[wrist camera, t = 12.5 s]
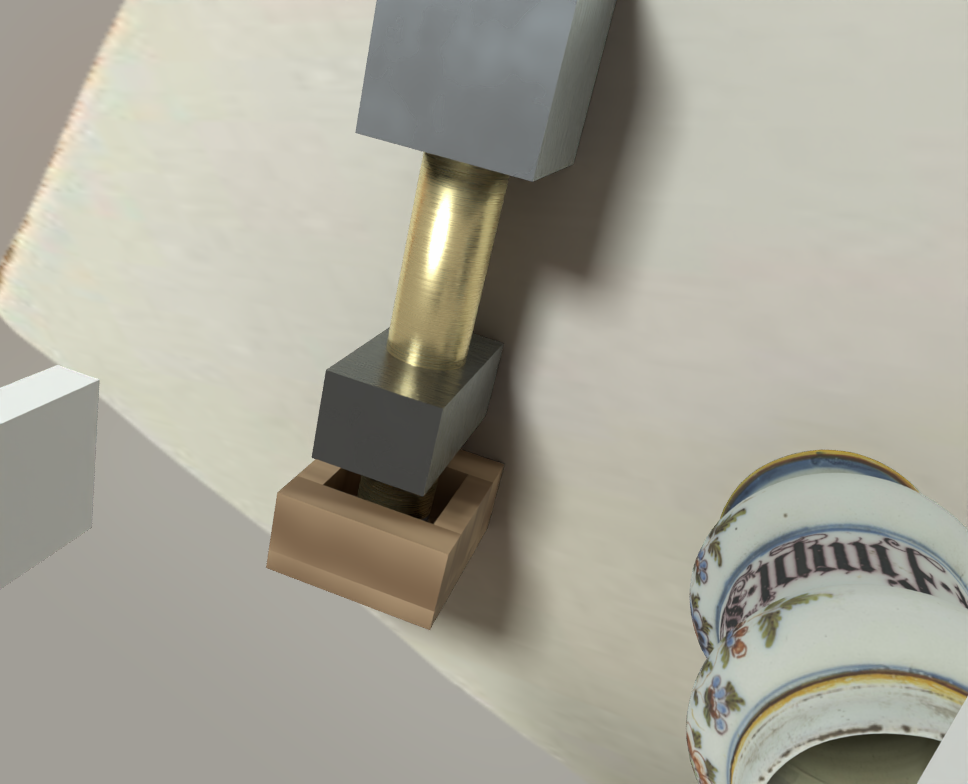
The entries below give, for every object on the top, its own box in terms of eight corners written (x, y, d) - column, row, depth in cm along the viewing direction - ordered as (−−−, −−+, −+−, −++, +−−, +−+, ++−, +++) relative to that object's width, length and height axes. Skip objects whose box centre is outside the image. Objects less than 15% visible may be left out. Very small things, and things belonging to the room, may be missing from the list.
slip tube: (455, 85, 38) (373, 82, 29) (561, 112, 37) (509, 118, 28) (378, 469, 45) (295, 556, 37) (464, 499, 45) (400, 596, 36)
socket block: (364, 416, 45) (277, 492, 37) (504, 464, 44) (448, 554, 35) (352, 480, 47) (266, 567, 38) (487, 528, 45) (429, 630, 37)
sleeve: (471, -90, 36) (399, -142, 28) (630, -56, 35) (601, -99, 27) (429, 125, 39) (355, 132, 31) (573, 164, 38) (532, 181, 30)
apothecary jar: (972, 646, 40) (1137, 1023, 24) (714, 653, 44) (704, 982, 28) (954, 410, 37) (1129, 660, 21) (677, 441, 41) (640, 672, 25)
